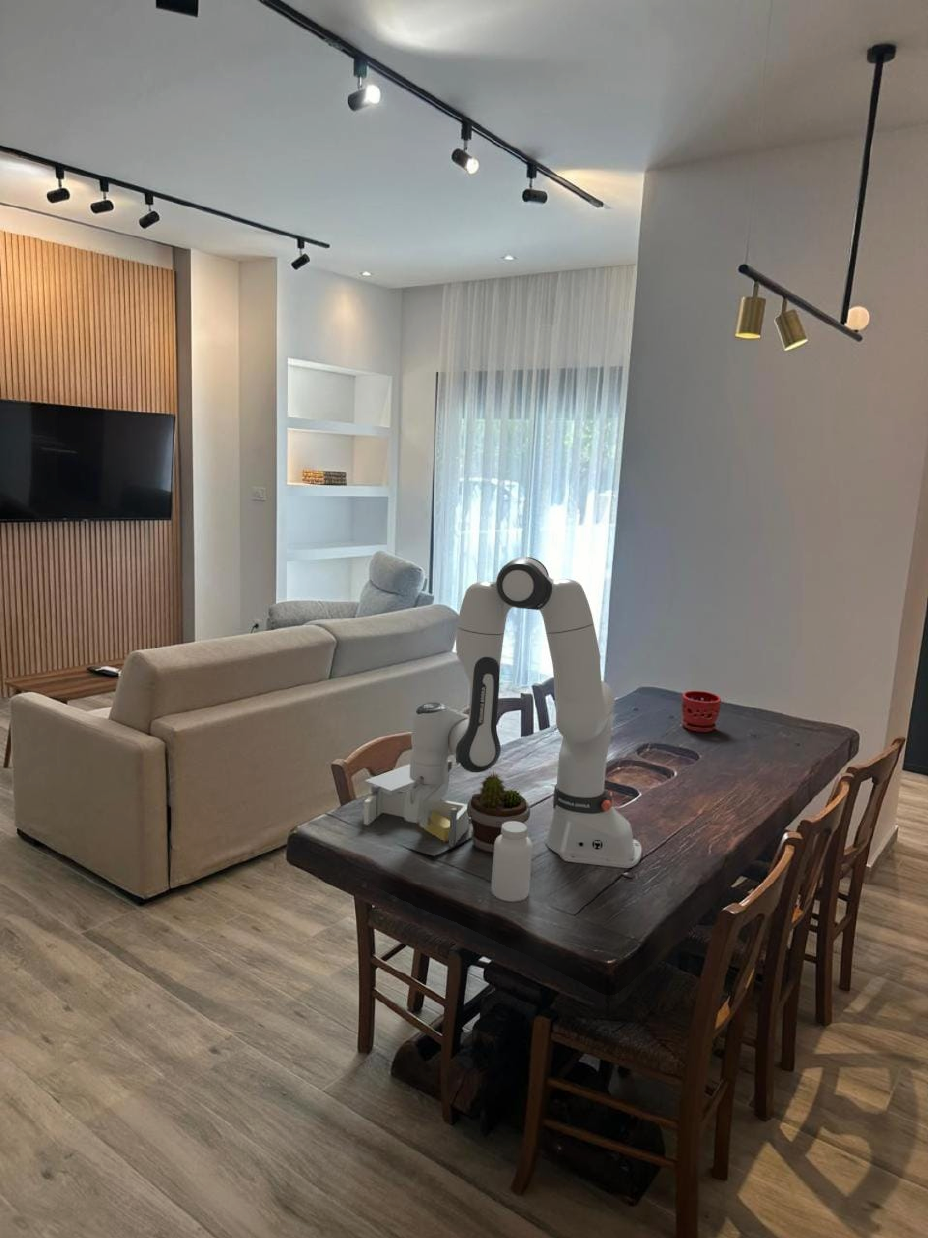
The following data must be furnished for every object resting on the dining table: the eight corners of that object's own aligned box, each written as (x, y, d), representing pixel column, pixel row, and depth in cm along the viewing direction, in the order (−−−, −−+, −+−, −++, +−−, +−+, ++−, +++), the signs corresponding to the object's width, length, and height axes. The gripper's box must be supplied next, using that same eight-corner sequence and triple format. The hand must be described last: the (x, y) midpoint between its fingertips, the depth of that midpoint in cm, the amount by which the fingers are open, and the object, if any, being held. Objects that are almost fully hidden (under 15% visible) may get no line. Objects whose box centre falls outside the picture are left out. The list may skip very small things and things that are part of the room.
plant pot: (672, 723, 295) (675, 691, 292) (704, 721, 299) (707, 689, 296) (692, 735, 282) (696, 701, 280) (725, 733, 286) (729, 700, 284)
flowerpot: (489, 826, 204) (493, 749, 200) (540, 847, 195) (546, 766, 191) (451, 846, 193) (455, 764, 189) (503, 868, 184) (509, 783, 180)
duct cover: (423, 763, 225) (423, 758, 225) (449, 772, 219) (449, 767, 219) (359, 786, 207) (359, 781, 207) (385, 797, 201) (385, 792, 201)
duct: (468, 828, 203) (470, 793, 201) (453, 846, 193) (455, 810, 191) (379, 810, 211) (380, 776, 209) (360, 827, 200) (361, 792, 199)
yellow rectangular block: (455, 838, 197) (456, 824, 197) (444, 841, 195) (444, 828, 195) (430, 822, 205) (430, 809, 204) (419, 826, 203) (419, 813, 202)
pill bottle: (497, 904, 169) (502, 836, 166) (486, 885, 176) (490, 819, 173) (534, 901, 171) (539, 833, 168) (521, 881, 178) (526, 816, 175)
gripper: (424, 788, 185) (421, 846, 188) (455, 759, 204) (451, 812, 207) (398, 783, 187) (395, 840, 189) (431, 755, 206) (428, 807, 209)
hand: (425, 825), depth 198 cm, fingers closed
